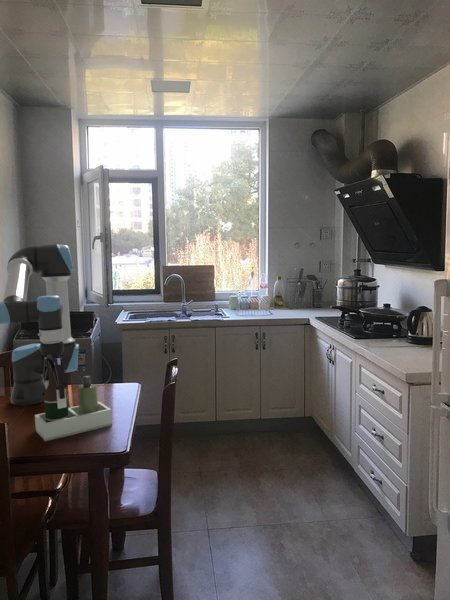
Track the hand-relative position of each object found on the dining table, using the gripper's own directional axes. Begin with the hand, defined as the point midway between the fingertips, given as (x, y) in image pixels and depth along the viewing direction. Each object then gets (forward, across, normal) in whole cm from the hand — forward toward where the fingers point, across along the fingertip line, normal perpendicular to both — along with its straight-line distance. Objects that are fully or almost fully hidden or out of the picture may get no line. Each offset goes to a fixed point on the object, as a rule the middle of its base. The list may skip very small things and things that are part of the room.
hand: (56, 403), depth 168 cm
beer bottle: (+10, 0, 0) cm, 10 cm away
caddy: (+10, 0, +6) cm, 12 cm away
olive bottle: (+9, 0, +11) cm, 14 cm away
